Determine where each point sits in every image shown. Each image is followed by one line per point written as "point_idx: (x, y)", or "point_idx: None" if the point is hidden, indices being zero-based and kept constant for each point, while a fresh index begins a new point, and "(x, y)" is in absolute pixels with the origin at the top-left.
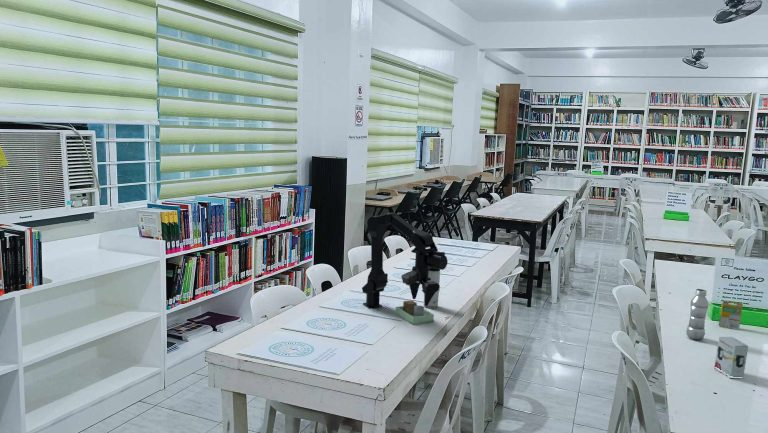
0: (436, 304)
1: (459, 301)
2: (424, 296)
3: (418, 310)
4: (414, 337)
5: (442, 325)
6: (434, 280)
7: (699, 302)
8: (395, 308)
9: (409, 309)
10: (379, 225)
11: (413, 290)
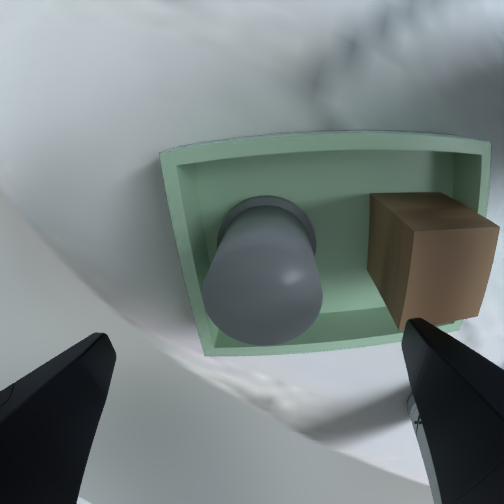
0: (412, 419)
1: (405, 465)
2: (13, 404)
3: (215, 259)
4: (3, 97)
5: (141, 332)
6: None
7: None
8: (481, 140)
9: (388, 225)
10: None
11: (469, 419)
